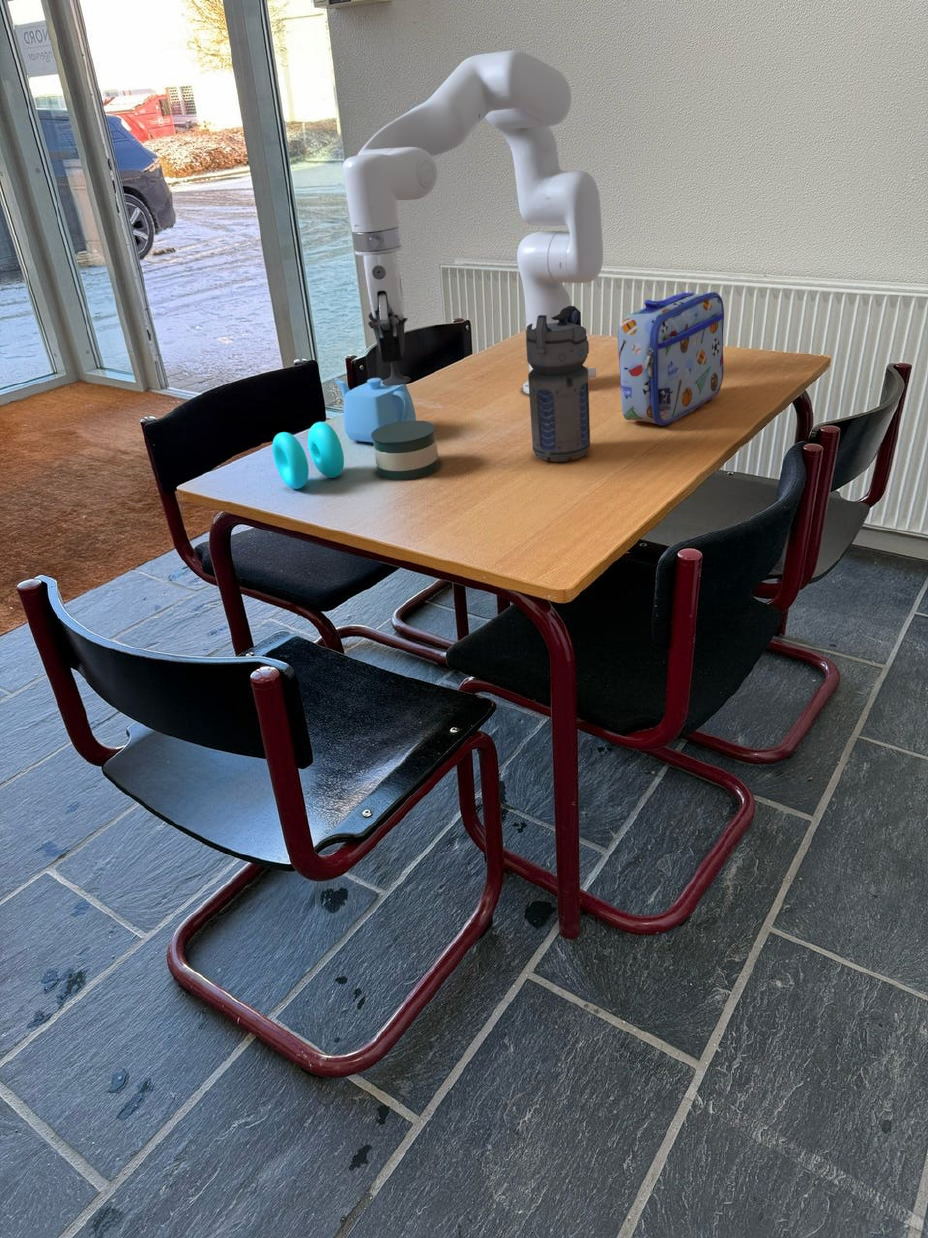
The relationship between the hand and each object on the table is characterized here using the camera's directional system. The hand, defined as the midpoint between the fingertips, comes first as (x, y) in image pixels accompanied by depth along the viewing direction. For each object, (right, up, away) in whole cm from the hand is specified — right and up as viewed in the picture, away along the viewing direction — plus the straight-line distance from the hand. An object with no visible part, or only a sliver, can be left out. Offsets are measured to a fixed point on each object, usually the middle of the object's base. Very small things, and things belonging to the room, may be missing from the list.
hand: (392, 355), depth 153 cm
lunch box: (+52, -4, +23) cm, 57 cm away
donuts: (-15, -20, +9) cm, 27 cm away
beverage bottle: (+30, -15, +9) cm, 35 cm away
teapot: (-5, -8, +28) cm, 29 cm away
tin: (+2, -17, +10) cm, 20 cm away
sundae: (0, -4, +2) cm, 5 cm away
